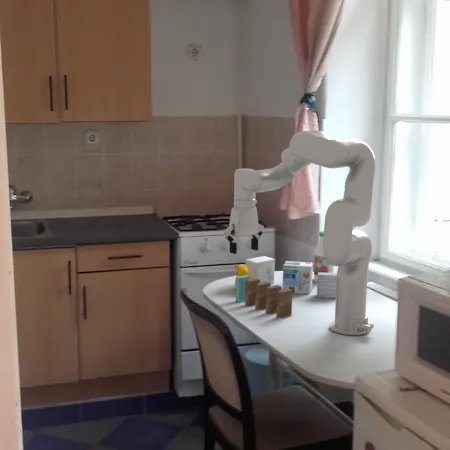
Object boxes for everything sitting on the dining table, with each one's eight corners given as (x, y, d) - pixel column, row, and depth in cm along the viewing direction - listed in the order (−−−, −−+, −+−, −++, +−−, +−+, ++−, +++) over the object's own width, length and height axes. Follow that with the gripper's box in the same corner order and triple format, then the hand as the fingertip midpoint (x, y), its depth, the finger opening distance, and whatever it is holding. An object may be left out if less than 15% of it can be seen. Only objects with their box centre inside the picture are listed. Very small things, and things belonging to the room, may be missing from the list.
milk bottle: (322, 277, 284) (324, 229, 280) (336, 281, 278) (339, 232, 274) (309, 280, 279) (311, 231, 275) (323, 284, 273) (325, 234, 269)
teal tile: (235, 301, 249) (235, 276, 247) (246, 298, 252) (246, 274, 250) (239, 302, 247) (239, 278, 246) (249, 300, 250) (250, 276, 249)
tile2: (280, 311, 237) (281, 286, 236) (269, 314, 234) (270, 288, 233) (276, 310, 239) (277, 284, 237) (265, 312, 236) (266, 287, 234)
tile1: (291, 315, 233) (292, 289, 232) (280, 318, 230) (281, 292, 229) (287, 314, 235) (288, 288, 233) (276, 316, 232) (277, 290, 230)
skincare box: (255, 288, 265) (256, 262, 263) (244, 285, 270) (244, 259, 268) (274, 284, 272) (275, 258, 270) (263, 281, 277) (263, 255, 275)
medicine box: (338, 295, 258) (339, 272, 256) (338, 298, 254) (339, 275, 252) (316, 294, 259) (317, 272, 257) (317, 298, 254) (317, 275, 253)
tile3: (269, 307, 242) (270, 282, 240) (259, 310, 239) (259, 284, 237) (266, 306, 243) (266, 281, 242) (255, 308, 240) (255, 283, 239)
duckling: (229, 287, 266) (229, 262, 264) (241, 286, 269) (242, 261, 267) (242, 295, 256) (243, 269, 254) (255, 293, 258) (256, 267, 257)
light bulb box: (281, 292, 261) (282, 264, 259) (284, 287, 268) (285, 260, 266) (310, 294, 259) (311, 266, 257) (312, 289, 265) (313, 262, 263)
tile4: (259, 303, 246) (260, 279, 244) (248, 306, 243) (249, 281, 241) (256, 302, 248) (256, 278, 246) (245, 304, 245) (245, 280, 243)
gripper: (256, 200, 251) (256, 246, 254) (218, 204, 241) (218, 252, 244) (270, 203, 245) (269, 250, 248) (231, 207, 235) (231, 256, 238)
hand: (243, 251), depth 246 cm, fingers open, 9 cm apart
